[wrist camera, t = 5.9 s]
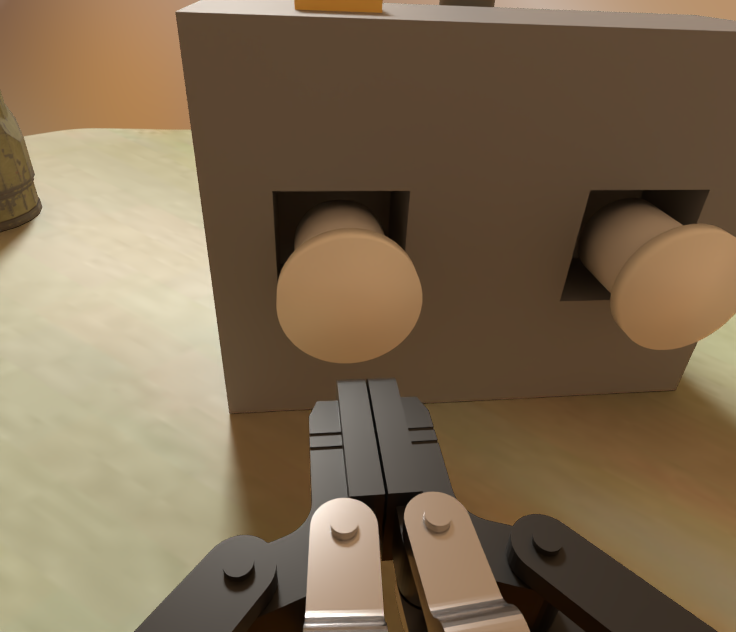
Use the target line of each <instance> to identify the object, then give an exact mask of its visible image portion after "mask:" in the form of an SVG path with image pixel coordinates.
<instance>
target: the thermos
mask: <svg viewBox="0 0 736 632" xmlns="http://www.w3.org/2000/svg"><path fill="white" fill-rule="evenodd" d="M34 175H35V174H34V170H33V167H32V164H31V160H30V157H29V154H28V150H27V147H26V144H25V140H24V137H23V135H22V132H21V130H20V128H19V125H18V123H17V121H16V119H15V117H14V116H13V114H12V113H11V111H10V110H9V109H8V107H7V106H6V105H5V103H4V100H3V97H2V94H1V91H0V232H1V231H5V230H8V229H11V228H14V227H17V226H20V225H22V224H24V223H26V222H28V221H30V220H32V219H33V218H34V217H36V216H37V215H38V214H39V213H40V211H41V208H42V205H41V201H40V199H39V197H38V195H37V192H36V189H35V185H34V182H33V181H34V178H33V177H34Z"/></svg>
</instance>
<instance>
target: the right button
mask: <svg viewBox="0 0 736 632" xmlns="http://www.w3.org/2000/svg"><path fill="white" fill-rule="evenodd" d="M578 253H579V257H580V260H581V262H582V263H583V265H584V266H585V267H586V268H587V269H588V270H589V271H590V272H591V273H592V274H593V275H594V276H595V277H596V278H597V280H598V281H599V282H600V283H601V284H602V285H603V286H604V287H605V288H606V289H607V290H608V291H609V292H610V293H611V297H610V308H611V313H612V316H613V318H614V320H615V322H616V323H617V324H618V326H619V327H620V328H621V329H622V330H623V331H624V332H625V333H626V335H627V336H628V337H629V338H630V339H631V340H632V341H634V342H635V343H636V344H638V345H640V346H642V347H645V348H649V349H654V350H669V349H676V348H681V347H684V346H687V345H690V344H693V343H695V342H697V341H699V340H701V339H703V338H705V337H707V336H709V335H710V334H712V333H714V332H715V331H716V330H718V329H719V328H720V327H722V326H723V325H724V324H725V323H726V322H727V321H728V320H729V319H730V318H731V317H733V316H734V314H735V313H736V237H734V236H733V235H731V234H729V233H728V232H726V231H724V230H723V229H721V228H719V227H716V226H714V225H709V224H689V225H684V226H683V225H682V224H681V223H679V222H678V221H676V220H675V219H673V218H672V217H670V216H669V215H667V214H666V213H664V212H663V211H661V210H660V209H658V208H657V207H655V206H654V205H652V204H651V203H649V202H648V201H646V200H643V199H639V198H625V199H620V200H617V201H614V202H612V203H610V204H608V205H606V206H605V207H603V208H602V209H600V210H599V211H598V212H597V213H595V214H594V215H593V217H592V218H591V219H590V220H589V221H588V222H587V224H586V225H585V227H584V229H583V231H582V233H581V236H580V239H579V243H578Z"/></svg>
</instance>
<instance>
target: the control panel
mask: <svg viewBox="0 0 736 632" xmlns="http://www.w3.org/2000/svg"><path fill="white" fill-rule="evenodd" d="M382 1H383V0H200V1H198V2H196V3H193V4H191V5H189V6H187V7H185V8H183V9H181V10H178V11H176V20H177V27H178V34H179V42H180V49H181V57H182V64H183V71H184V79H185V86H186V94H187V101H188V109H189V116H190V123H191V131H192V138H193V146H194V153H195V161H196V168H197V176H198V183H199V191H200V198H201V205H202V213H203V220H204V228H205V235H206V243H207V250H208V257H209V265H210V272H211V280H212V287H213V295H214V302H215V309H216V317H217V324H218V332H219V339H220V347H221V354H222V361H223V369H224V376H225V384H226V391H227V399H228V406H229V413H248V412H267V411H286V410H305V409H313V408H314V406H315V404H316V402H317V401H336V380H348V379H365V381H366V379H368V378H391V377H394V378H395V379H396V382H397V386H398V390H399V394H400V397H417V398H418V399H419V400H420V401H421V402H422V403H439V402H458V401H477V400H496V399H515V398H534V397H553V396H572V395H591V394H611V393H630V392H649V391H668V390H676V388H677V386H678V383H679V381H680V379H681V377H682V375H683V373H684V370H685V368H686V366H687V364H688V362H689V359H690V357H691V355H692V353H693V351H694V349H695V346H696V344H697V342H698V341H697V342H695V343H693V344H690V345H687V346H684V347H681V348H676V349H669V350H654V349H649V348H645V347H642V346H640V345H638V344H636V343H635V342H634V341H632V340H631V339H630V338H629V337H628V336H627V335H626V333H625V332H624V331H623V330H622V329H621V328H620V327H619V326H618V324H617V323H616V322H615V320H614V318H613V316H612V313H611V308H610V297H611V293H610V292H609V291H608V290H607V289H606V288H605V287H604V286H603V285H602V284H601V283H600V282H599V281H598V280H597V278H596V277H595V276H594V275H593V274H592V273H591V272H590V271H589V270H588V269H587V268H586V267H585V266H584V265H583V263H582V262H581V260H580V257H579V253H578V243H579V239H580V236H581V233H582V231H583V229H584V227H585V225H586V224H587V222H588V221H589V220H590V219H591V218H592V217H593V215H594V214H595V213H597V212H598V211H599V210H600V209H602V208H603V207H605V206H606V205H608V204H610V203H612V202H614V201H617V200H620V199H625V198H639V199H643V200H646V201H648V202H649V203H651V204H652V205H654V206H655V207H657V208H658V209H660V210H661V211H663V212H664V213H666V214H667V215H669V216H670V217H672V218H673V219H675V220H676V221H678V222H679V223H681V224H682V225H683V226H684V225H689V224H709V225H714V226H716V227H719V228H721V229H723V230H724V231H726V232H728V233H729V234H731V235H733V236H734V237H736V21H733V20H726V19H719V18H711V17H704V16H697V15H677V14H653V13H626V12H601V11H575V10H550V9H524V8H498V7H473V6H447V5H421V4H395V3H382ZM338 199H342V200H350V201H354V202H357V203H360V204H362V205H364V206H365V207H367V208H368V209H369V210H370V211H372V212H373V213H374V215H375V216H376V217H377V219H378V220H379V222H380V224H381V226H382V229H383V232H384V235H385V236H387V237H388V238H390V239H391V240H393V241H395V242H396V243H397V244H398V245H399V246H400V247H401V248H402V249H403V250H404V251H405V252H406V253H407V255H408V256H409V258H410V259H411V261H412V263H413V265H414V267H415V270H416V272H417V275H418V277H419V280H420V284H421V287H422V295H423V296H422V307H421V312H420V315H419V318H418V320H417V322H416V324H415V326H414V328H413V329H412V331H411V332H410V334H409V335H408V336H407V337H406V338H405V339H404V340H403V341H402V342H401V343H400V344H399V345H398V346H396V347H395V348H394V349H392V350H391V351H389V352H387V353H385V354H384V355H381V356H379V357H377V358H374V359H371V360H368V361H363V362H358V363H333V362H328V361H323V360H320V359H317V358H315V357H313V356H310V355H308V354H306V353H305V352H303V351H302V350H300V349H299V348H298V347H297V346H295V345H294V344H293V343H292V342H291V341H290V339H289V338H288V337H287V336H286V334H285V333H284V331H283V329H282V327H281V325H280V322H279V319H278V316H277V309H276V300H277V284H278V279H279V276H280V273H281V270H282V268H283V266H284V264H285V262H286V261H287V259H288V258H289V257H290V255H291V254H292V253H293V252H294V237H295V232H296V229H297V226H298V224H299V222H300V221H301V219H302V218H303V216H304V215H305V214H306V213H307V212H308V211H309V210H311V209H312V208H313V207H315V206H317V205H319V204H321V203H323V202H326V201H330V200H338Z"/></svg>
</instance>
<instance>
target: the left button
mask: <svg viewBox="0 0 736 632" xmlns="http://www.w3.org/2000/svg"><path fill="white" fill-rule="evenodd" d="M422 296H423V295H422V287H421V284H420V280H419V277H418V275H417V272H416V270H415V267H414V265H413V263H412V261H411V259H410V258H409V256H408V255H407V253H406V252H405V251H404V250H403V249H402V248H401V247H400V246H399V245H398V244H397V243H396V242H395V241H393V240H391V239H390V238H388V237H387V236H385V235H384V232H383V229H382V226H381V224H380V222H379V220H378V219H377V217H376V216H375V215H374V213H373V212H372V211H370V210H369V209H368V208H367V207H365V206H364V205H362V204H360V203H357V202H354V201H350V200H342V199H338V200H330V201H326V202H323V203H321V204H319V205H317V206H315V207H313V208H312V209H311V210H309V211H308V212H307V213H306V214H305V215H304V216H303V218H302V219H301V221H300V222H299V224H298V226H297V229H296V232H295V237H294V252H293V253H292V254H291V255H290V257H289V258H288V259H287V261H286V262H285V264H284V266H283V268H282V270H281V273H280V276H279V279H278V284H277V300H276V309H277V316H278V319H279V322H280V325H281V327H282V329H283V331H284V333H285V334H286V336H287V337H288V338H289V339H290V341H291V342H292V343H293V344H294V345H295V346H297V347H298V348H299V349H300V350H302V351H303V352H305V353H306V354H308V355H310V356H313V357H315V358H317V359H320V360H323V361H328V362H333V363H358V362H363V361H368V360H371V359H374V358H377V357H379V356H381V355H384V354H385V353H387V352H389V351H391V350H392V349H394V348H395V347H396V346H398V345H399V344H400V343H401V342H402V341H403V340H404V339H405V338H406V337H407V336H408V335H409V334H410V332H411V331H412V329H413V328H414V326H415V324H416V322H417V320H418V318H419V315H420V312H421V307H422Z"/></svg>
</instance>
